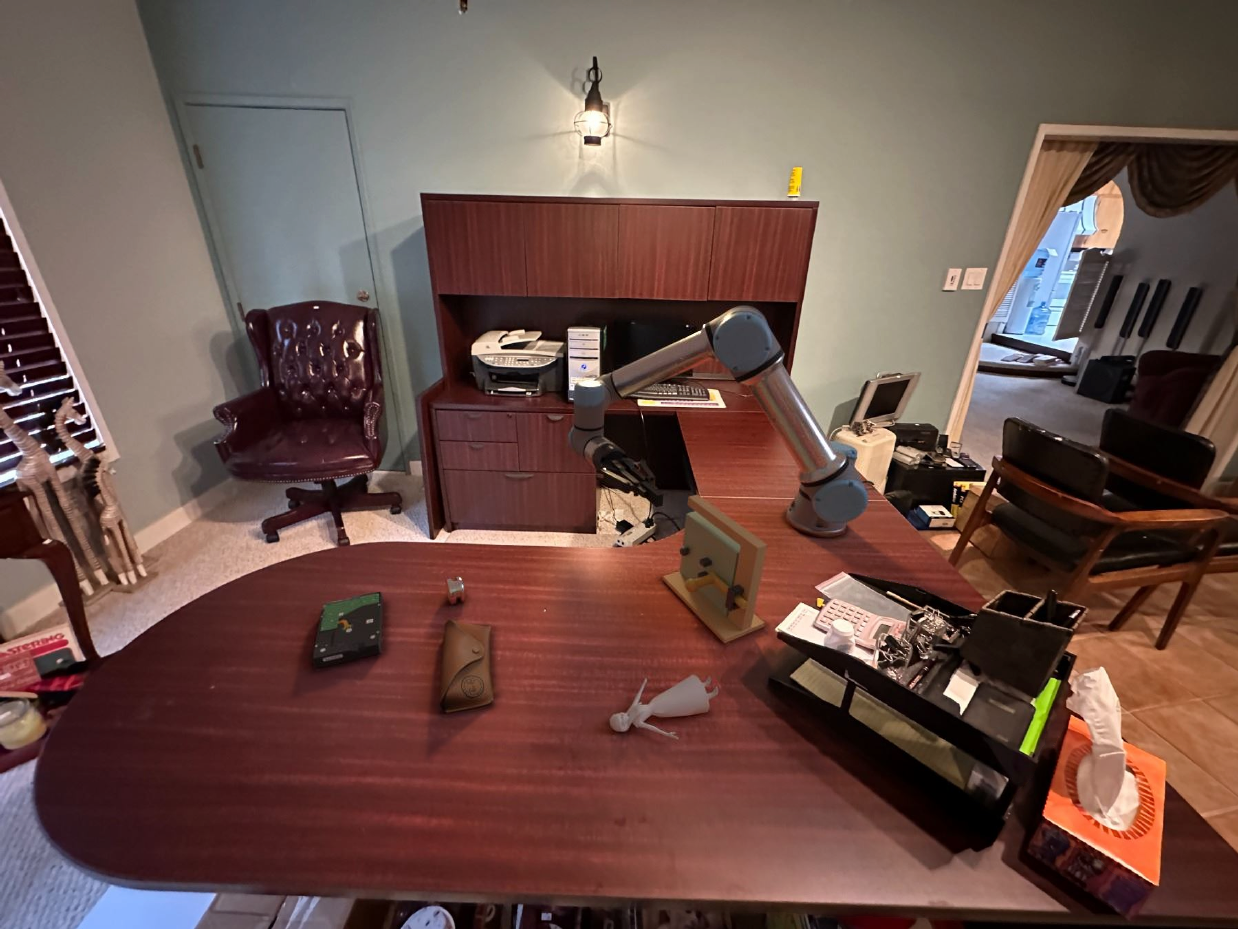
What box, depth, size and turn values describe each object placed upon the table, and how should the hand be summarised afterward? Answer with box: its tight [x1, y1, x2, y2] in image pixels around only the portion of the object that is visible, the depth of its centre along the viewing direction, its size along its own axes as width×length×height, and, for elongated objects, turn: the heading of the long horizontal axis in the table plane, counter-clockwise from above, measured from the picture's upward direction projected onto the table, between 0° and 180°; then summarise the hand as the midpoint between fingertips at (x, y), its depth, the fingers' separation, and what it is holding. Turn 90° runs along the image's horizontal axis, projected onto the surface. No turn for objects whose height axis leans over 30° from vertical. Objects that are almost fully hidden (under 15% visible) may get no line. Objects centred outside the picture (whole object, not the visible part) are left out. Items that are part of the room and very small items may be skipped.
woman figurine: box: [609, 673, 719, 740], centre depth 77 cm, size 12×4×18 cm
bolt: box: [685, 572, 748, 609], centre depth 93 cm, size 7×10×3 cm
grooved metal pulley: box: [445, 575, 467, 605], centre depth 99 cm, size 5×3×5 cm, turn 30°
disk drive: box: [312, 591, 384, 669], centre depth 90 cm, size 10×3×15 cm
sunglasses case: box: [438, 618, 494, 714], centre depth 84 cm, size 18×7×7 cm, turn 16°
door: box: [662, 494, 768, 644], centre depth 99 cm, size 10×21×20 cm, turn 29°
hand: (659, 500), depth 99 cm, fingers closed
